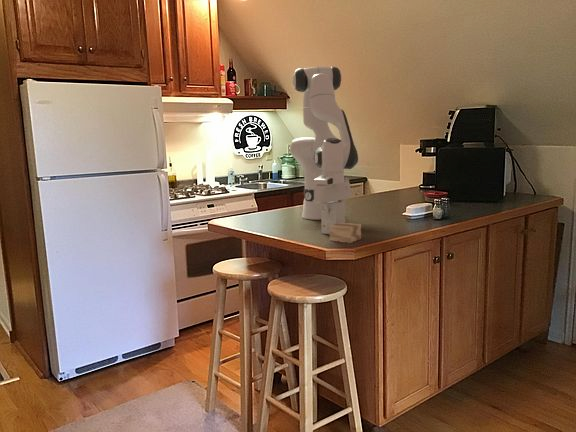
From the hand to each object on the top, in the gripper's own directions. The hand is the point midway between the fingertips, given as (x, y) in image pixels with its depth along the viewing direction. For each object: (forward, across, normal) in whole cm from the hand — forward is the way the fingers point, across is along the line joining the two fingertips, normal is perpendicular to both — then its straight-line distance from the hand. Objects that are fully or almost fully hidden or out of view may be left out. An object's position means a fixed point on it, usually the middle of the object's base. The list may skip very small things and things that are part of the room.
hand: (333, 211), depth 216 cm
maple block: (+9, +6, +11) cm, 16 cm away
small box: (+9, 0, 0) cm, 9 cm away
